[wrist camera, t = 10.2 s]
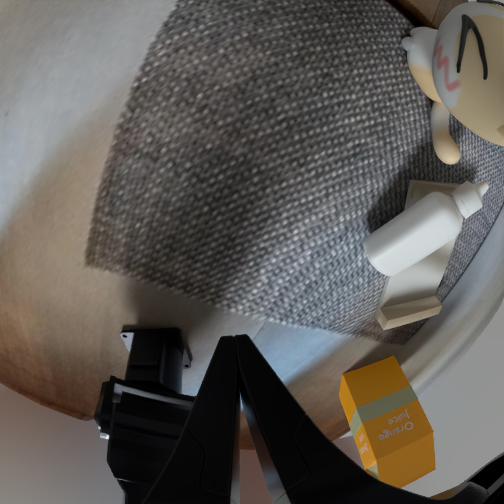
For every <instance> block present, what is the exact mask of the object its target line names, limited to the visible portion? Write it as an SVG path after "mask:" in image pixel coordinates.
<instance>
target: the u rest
mask: <svg viewBox="0 0 504 504" xmlns="http://www.w3.org/2000/svg"><path fill="white" fill-rule="evenodd" d="M460 185H462V184H458V183H448V182H437V181H425V180H410V181H409V187H408V192H407V198H406V203H405V208H404V211H405V210H406V209H407V208H409V207H410V206H412V205H413V204H414V203H416V202H417V201H419V200H420V199H422V198H423V197H424V196H426V195H427V194H429V193H431V192H441V193H443V194H446V195H449V196H450V197H452V195H451V192H452V191H454V190H455V189H456V188H458V187H459V186H460ZM456 237H457V236H456ZM456 237H455V238H454V239H452V240H451V241H449V242H448V243H446V244H445V245H443V246H442V247H440V248H439V249H437V250H436V251H434V252H433V253H431V254H430V255H428V256H426V257H425V258H423V259H422V260H420V261H418V262H417V263H415V264H413V265H412V266H410V267H408V268H407V269H405V270H403V271H402V272H400V273H398V274H396V275H394V276H387V279H386V282H385V285H384V288H383V291H382V294H381V297H380V300H379V303H378V306H377V309H376V312H375V317H376V318H377V320H378V322H379V323H380V325H381V327H382V328H383V330H386V329H390V328H394V327H397V326H401V325H405V324H408V323H412V322H415V321H418V320H422V319H425V318H428V317H431V316H434V315H437V314H439V312H440V310H441V308H442V306H443V305H442V303H441V302H440V301H439V300H438V299H437V297H436V296H435V293H436V291H437V289H438V286H439V284H440V281H441V279H442V276H443V274H444V271H445V269H446V266H447V263H448V261H449V258H450V255H451V252H452V249H453V246H454V243H455V240H456Z"/></svg>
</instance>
